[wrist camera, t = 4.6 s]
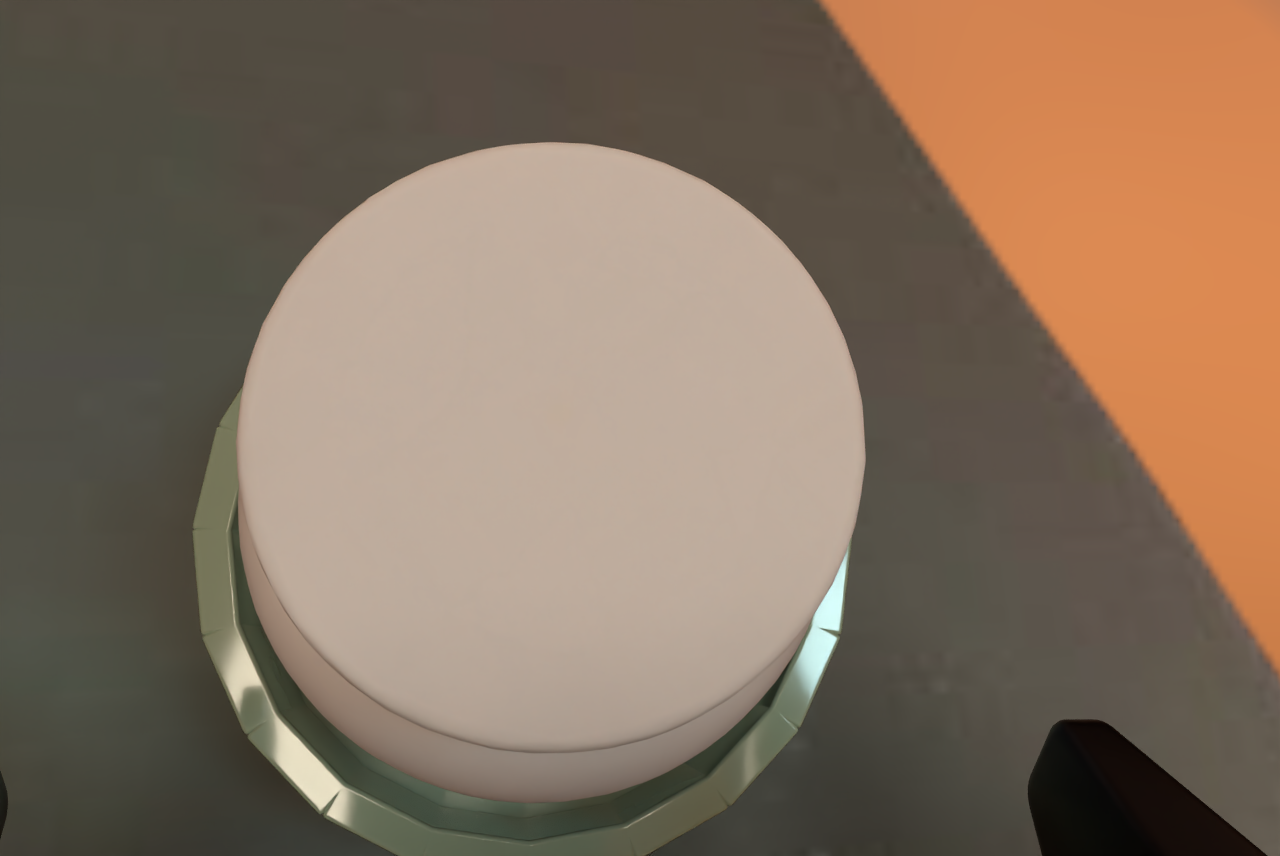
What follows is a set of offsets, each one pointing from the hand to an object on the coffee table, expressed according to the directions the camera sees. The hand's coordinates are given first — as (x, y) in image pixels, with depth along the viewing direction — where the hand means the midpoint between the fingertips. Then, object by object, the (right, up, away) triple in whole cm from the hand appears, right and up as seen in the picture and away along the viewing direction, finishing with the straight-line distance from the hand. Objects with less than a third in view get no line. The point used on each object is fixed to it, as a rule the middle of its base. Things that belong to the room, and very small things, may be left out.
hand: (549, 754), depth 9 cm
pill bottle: (-1, 0, +10) cm, 10 cm away
